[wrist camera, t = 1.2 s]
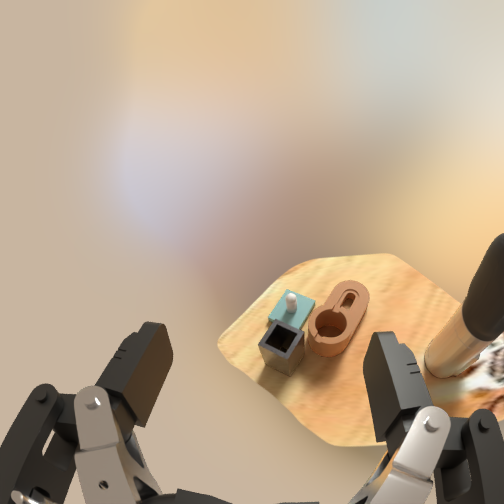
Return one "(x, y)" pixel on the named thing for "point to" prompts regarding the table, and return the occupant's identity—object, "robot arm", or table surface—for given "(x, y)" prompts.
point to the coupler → (285, 338)
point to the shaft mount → (292, 309)
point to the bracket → (338, 318)
